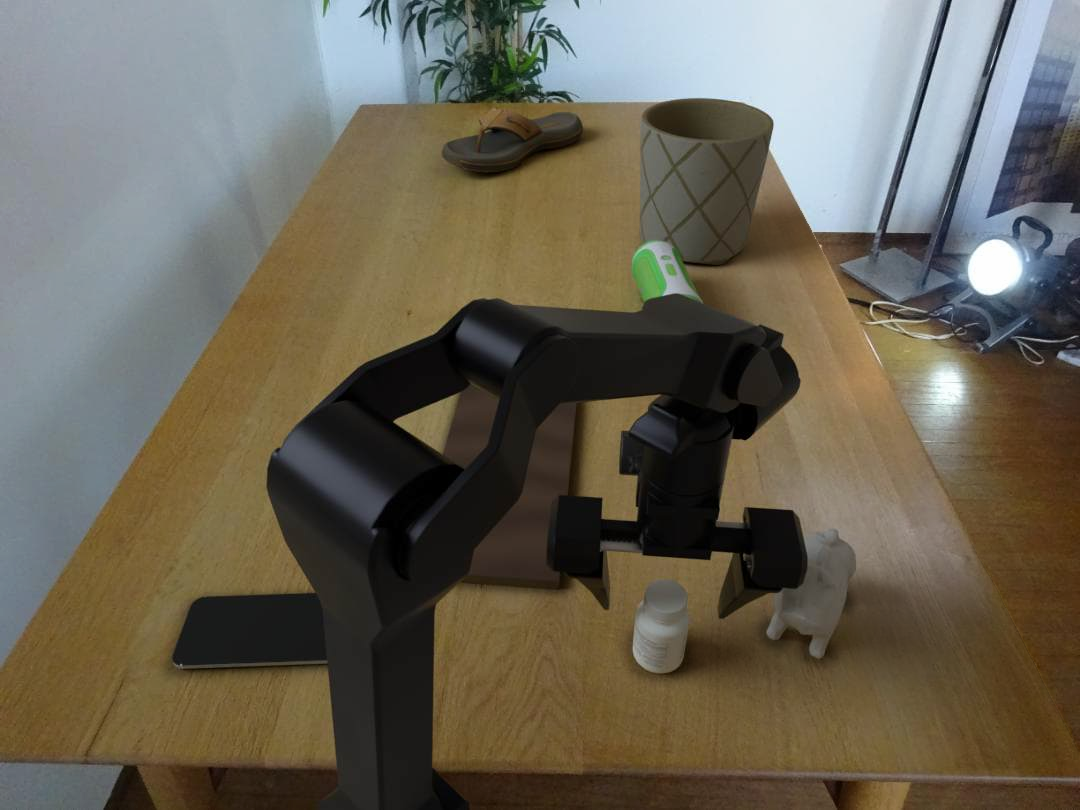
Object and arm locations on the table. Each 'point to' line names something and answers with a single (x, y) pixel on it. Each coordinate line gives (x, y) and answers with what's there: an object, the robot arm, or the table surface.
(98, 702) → the table surface
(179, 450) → the table surface
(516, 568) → the shelf board
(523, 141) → the sandal
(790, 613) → the dog figurine
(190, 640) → the smartphone
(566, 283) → the table surface
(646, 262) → the speaker
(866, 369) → the table surface
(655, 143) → the planter
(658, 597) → the pill bottle
